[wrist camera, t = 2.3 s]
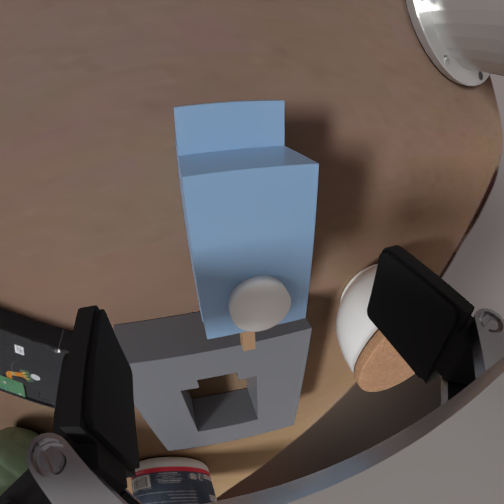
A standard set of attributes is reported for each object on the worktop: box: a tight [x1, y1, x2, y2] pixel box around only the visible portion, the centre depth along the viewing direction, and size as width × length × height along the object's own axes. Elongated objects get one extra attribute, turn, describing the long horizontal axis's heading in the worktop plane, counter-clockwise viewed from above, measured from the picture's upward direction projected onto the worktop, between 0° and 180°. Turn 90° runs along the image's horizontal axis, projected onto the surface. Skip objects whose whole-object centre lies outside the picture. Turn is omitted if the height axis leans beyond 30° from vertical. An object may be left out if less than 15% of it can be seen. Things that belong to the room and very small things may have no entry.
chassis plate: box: [114, 312, 312, 451], centre depth 24 cm, size 14×16×4 cm
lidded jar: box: [336, 264, 415, 392], centre depth 22 cm, size 11×11×9 cm
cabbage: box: [0, 427, 40, 496], centre depth 17 cm, size 16×19×20 cm
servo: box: [174, 100, 319, 351], centre depth 14 cm, size 13×4×9 cm, turn 1°
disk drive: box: [0, 308, 73, 408], centre depth 18 cm, size 10×3×15 cm
